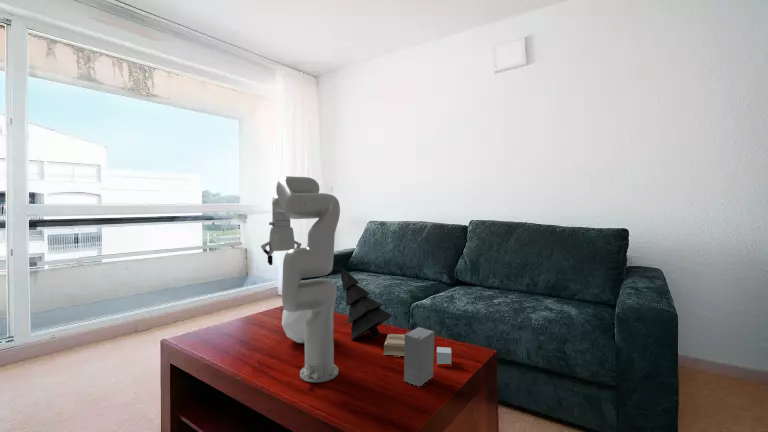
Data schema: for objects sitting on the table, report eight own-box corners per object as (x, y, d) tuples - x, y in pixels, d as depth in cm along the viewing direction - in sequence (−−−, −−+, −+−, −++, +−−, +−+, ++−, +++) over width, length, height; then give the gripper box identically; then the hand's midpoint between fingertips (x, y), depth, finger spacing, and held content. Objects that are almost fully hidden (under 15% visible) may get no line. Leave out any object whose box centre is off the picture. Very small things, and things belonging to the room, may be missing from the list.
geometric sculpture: (294, 361, 147) (262, 323, 144) (317, 328, 165) (289, 295, 162) (325, 346, 138) (292, 306, 136) (346, 313, 156) (317, 278, 153)
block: (451, 367, 125) (451, 353, 125) (436, 366, 126) (436, 352, 126) (450, 361, 130) (450, 347, 130) (436, 360, 131) (436, 346, 131)
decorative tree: (375, 338, 162) (340, 270, 173) (398, 324, 155) (360, 254, 166) (354, 349, 150) (318, 275, 161) (378, 334, 143) (339, 258, 154)
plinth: (416, 357, 134) (416, 345, 134) (384, 355, 136) (384, 344, 135) (417, 345, 146) (417, 334, 146) (388, 343, 147) (388, 333, 147)
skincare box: (417, 373, 121) (417, 325, 121) (435, 379, 117) (435, 330, 116) (402, 382, 115) (402, 332, 114) (421, 389, 110) (421, 337, 110)
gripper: (263, 225, 150) (263, 266, 150) (303, 224, 159) (304, 263, 159) (258, 224, 156) (259, 264, 156) (297, 223, 165) (298, 261, 166)
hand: (281, 263), depth 158 cm, fingers open, 9 cm apart
